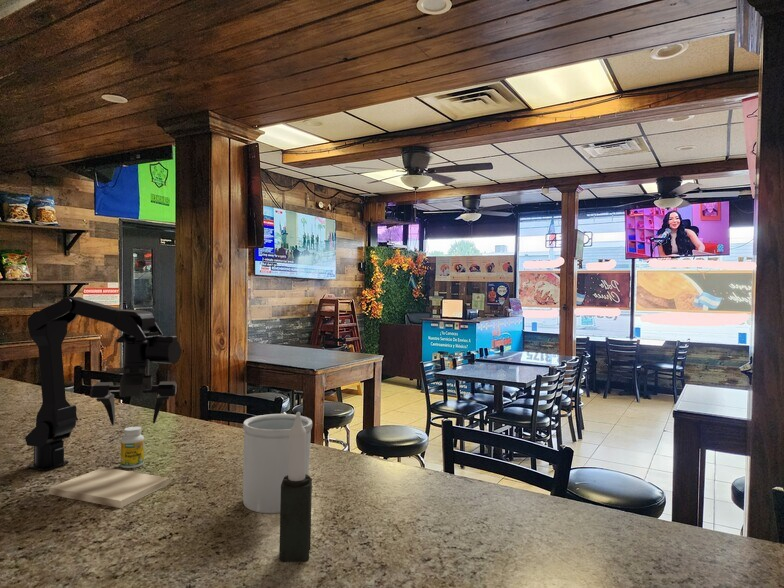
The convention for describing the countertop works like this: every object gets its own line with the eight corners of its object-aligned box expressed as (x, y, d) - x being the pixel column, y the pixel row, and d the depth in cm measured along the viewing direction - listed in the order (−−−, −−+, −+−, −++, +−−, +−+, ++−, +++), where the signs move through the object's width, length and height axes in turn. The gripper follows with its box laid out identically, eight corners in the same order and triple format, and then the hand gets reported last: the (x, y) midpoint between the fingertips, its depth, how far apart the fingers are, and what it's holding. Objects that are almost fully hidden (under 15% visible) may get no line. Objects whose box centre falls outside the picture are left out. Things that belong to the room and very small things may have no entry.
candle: (282, 547, 91) (285, 408, 91) (310, 546, 91) (314, 408, 91) (278, 562, 85) (281, 415, 85) (308, 561, 86) (311, 415, 86)
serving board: (49, 494, 111) (49, 487, 111) (103, 473, 125) (103, 467, 125) (120, 508, 105) (120, 500, 105) (169, 484, 118) (169, 477, 118)
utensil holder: (286, 482, 121) (288, 409, 121) (323, 501, 111) (325, 422, 111) (229, 499, 111) (230, 419, 111) (264, 522, 100) (266, 434, 100)
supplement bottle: (142, 460, 134) (143, 424, 134) (145, 466, 130) (145, 429, 130) (119, 464, 131) (120, 427, 131) (121, 470, 127) (122, 432, 127)
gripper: (85, 366, 115) (82, 434, 115) (174, 366, 121) (171, 431, 121) (96, 359, 125) (94, 422, 125) (178, 359, 131) (175, 419, 131)
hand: (133, 423), depth 125 cm, fingers open, 9 cm apart
